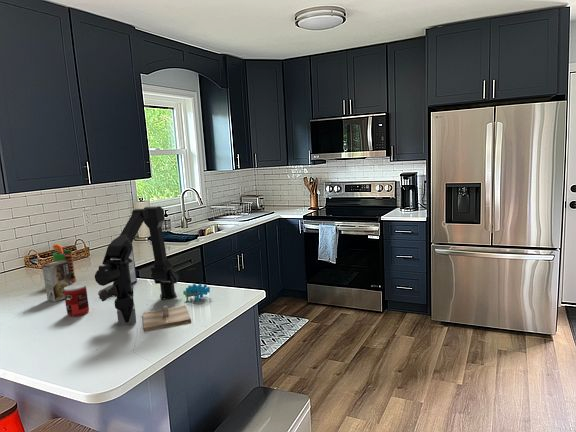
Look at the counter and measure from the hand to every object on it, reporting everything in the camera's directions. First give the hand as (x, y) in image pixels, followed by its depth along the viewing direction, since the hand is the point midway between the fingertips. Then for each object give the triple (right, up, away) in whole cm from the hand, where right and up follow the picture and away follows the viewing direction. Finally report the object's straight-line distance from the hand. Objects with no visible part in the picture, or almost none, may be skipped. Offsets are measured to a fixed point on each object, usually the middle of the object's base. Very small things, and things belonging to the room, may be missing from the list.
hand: (127, 318), depth 158 cm
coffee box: (-43, +1, +35) cm, 55 cm away
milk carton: (-19, +4, +49) cm, 53 cm away
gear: (+22, +3, +20) cm, 30 cm away
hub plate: (+14, 0, 0) cm, 14 cm away
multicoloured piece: (-53, +4, +59) cm, 80 cm away
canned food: (-24, -1, +13) cm, 27 cm away
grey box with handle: (0, -1, 0) cm, 1 cm away
